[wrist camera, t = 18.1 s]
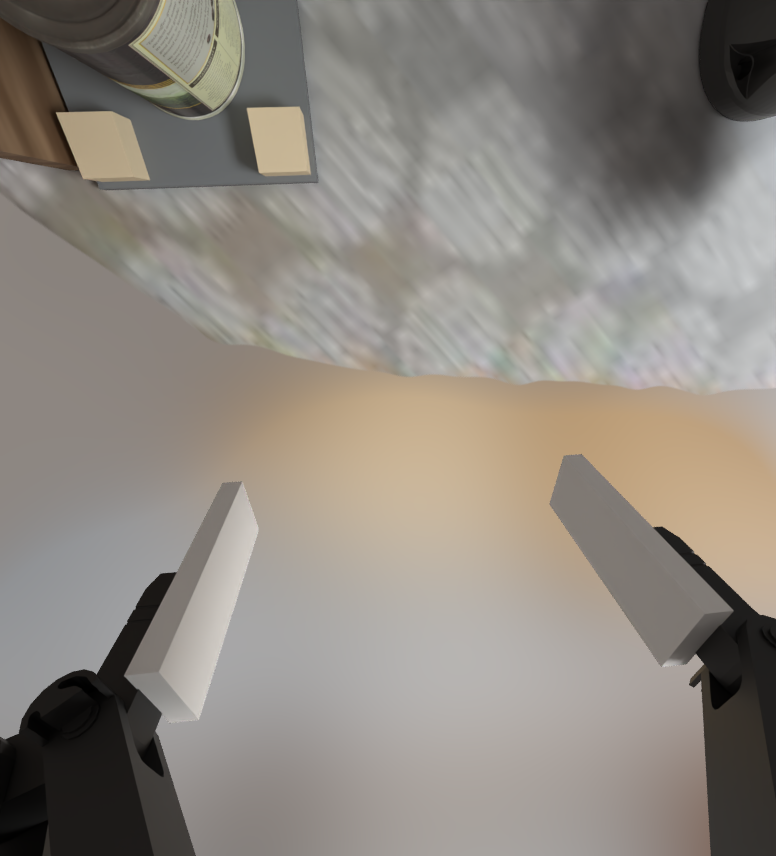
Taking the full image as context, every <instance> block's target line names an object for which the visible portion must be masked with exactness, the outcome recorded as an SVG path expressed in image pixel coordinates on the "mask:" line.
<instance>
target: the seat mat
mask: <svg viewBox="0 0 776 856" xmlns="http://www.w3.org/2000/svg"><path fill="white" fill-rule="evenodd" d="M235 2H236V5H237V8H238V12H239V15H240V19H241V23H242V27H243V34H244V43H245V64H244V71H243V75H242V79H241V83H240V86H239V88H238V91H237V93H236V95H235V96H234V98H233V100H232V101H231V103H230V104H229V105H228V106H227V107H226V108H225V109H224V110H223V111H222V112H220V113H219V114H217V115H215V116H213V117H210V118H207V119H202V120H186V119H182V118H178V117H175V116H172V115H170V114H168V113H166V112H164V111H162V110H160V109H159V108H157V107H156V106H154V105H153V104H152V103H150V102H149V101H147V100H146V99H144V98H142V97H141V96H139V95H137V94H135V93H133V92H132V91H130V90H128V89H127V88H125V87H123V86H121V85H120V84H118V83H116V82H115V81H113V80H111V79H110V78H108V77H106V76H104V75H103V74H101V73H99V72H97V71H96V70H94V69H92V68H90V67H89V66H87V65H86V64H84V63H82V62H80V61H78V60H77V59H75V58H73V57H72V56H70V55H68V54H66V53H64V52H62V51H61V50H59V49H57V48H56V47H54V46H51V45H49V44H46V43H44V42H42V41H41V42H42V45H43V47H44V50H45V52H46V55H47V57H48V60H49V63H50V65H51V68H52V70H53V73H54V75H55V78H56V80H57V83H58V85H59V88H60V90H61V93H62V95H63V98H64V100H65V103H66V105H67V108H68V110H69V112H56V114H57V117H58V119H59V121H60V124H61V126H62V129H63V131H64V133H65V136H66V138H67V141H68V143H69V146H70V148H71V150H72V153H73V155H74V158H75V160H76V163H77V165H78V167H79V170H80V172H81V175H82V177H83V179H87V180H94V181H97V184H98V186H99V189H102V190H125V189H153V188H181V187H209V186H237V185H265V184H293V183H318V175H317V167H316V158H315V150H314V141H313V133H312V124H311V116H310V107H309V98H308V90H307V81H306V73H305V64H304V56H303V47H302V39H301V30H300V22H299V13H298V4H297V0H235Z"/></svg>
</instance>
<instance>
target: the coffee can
mask: <svg viewBox="0 0 776 856" xmlns="http://www.w3.org/2000/svg"><path fill="white" fill-rule="evenodd" d="M0 17H1V18H2V19H4V20H5V21H6V22H8V23H9V24H11V25H12V26H14V27H15V28H17V29H19V30H21V31H22V32H24V33H26V34H28V35H30V36H31V37H33V38H35V39H37V40H39V41H42V42H44V43H46V44H49V45H51V46H54V47H56V48H57V49H59V50H61V51H62V52H64V53H66V54H68V55H70V56H72V57H73V58H75V59H77V60H78V61H80V62H82V63H84V64H86V65H87V66H89V67H90V68H92V69H94V70H96V71H97V72H99V73H101V74H103V75H104V76H106V77H108V78H110V79H111V80H113V81H115V82H116V83H118V84H120V85H121V86H123V87H125V88H127V89H128V90H130V91H132V92H133V93H135V94H137V95H139V96H141V97H142V98H144V99H146V100H147V101H149V102H150V103H152V104H153V105H154V106H156V107H157V108H159V109H160V110H162V111H164V112H166V113H168V114H170V115H172V116H175V117H178V118H182V119H186V120H202V119H207V118H210V117H213V116H215V115H217V114H219V113H220V112H222V111H223V110H224V109H225V108H226V107H227V106H228V105H229V104H230V103H231V101H232V100H233V98H234V96H235V95H236V93H237V91H238V88H239V86H240V83H241V79H242V75H243V71H244V64H245V43H244V34H243V27H242V23H241V19H240V15H239V12H238V8H237V5H236V2H235V0H0Z"/></svg>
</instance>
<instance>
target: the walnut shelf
mask: <svg viewBox="0 0 776 856" xmlns="http://www.w3.org/2000/svg"><path fill="white" fill-rule="evenodd" d="M56 112H69V110H68V108H67V105H66V103H65V100H64V98H63V95H62V93H61V90H60V88H59V85H58V83H57V80H56V78H55V75H54V73H53V70H52V68H51V65H50V63H49V60H48V57H47V55H46V52H45V50H44V47H43V45H42V42H41V41H39V40H37V39H35V38H33V37H31V36H30V35H28V34H26V33H24V32H22V31H21V30H19V29H17V28H15V27H14V26H12V25H11V24H9V23H8V22H6V21H5V20H4V19H2V18H1V17H0V158H4V159H10V160H15V161H21V162H26V163H32V164H37V165H43V166H48V167H54V168H59V169H65V170H79V167H78V165H77V163H76V160H75V158H74V155H73V153H72V150H71V148H70V146H69V143H68V141H67V138H66V136H65V133H64V131H63V129H62V126H61V124H60V121H59V119H58V117H57V114H56Z"/></svg>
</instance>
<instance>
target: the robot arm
mask: <svg viewBox="0 0 776 856" xmlns="http://www.w3.org/2000/svg"><path fill="white" fill-rule="evenodd" d="M700 72H701V78H702V83H703V86H704V89H705V92H706V94H707V97H708V99H709V100H710V102H711V103H712V105H713V106H714V107H715V108H716V109H717V110H718V111H719V112H720V113H721V114H723V115H724V116H726V117H728V118H730V119H733V120H737V121H756V120H761V119H765V118H769V117H773V116H776V0H709V1H708V5H707V9H706V12H705V17H704V21H703V27H702V32H701V40H700ZM550 506H551V507H552V509H553V510H554V511H555V513H556V514H557V516H558V517H559V519H560V520H561V522H562V523H563V525H564V526H565V528H566V529H567V530H568V532H569V533H570V535H571V536H572V538H573V539H574V541H575V542H576V544H577V545H578V546H579V548H580V549H581V551H582V552H583V554H584V555H585V557H586V558H587V560H588V561H589V562H590V564H591V565H592V567H593V568H594V570H595V571H596V573H597V574H598V576H599V577H600V579H601V580H602V581H603V583H604V584H605V586H606V587H607V588H608V590H609V592H610V593H611V595H612V596H613V597H614V599H615V600H616V602H617V603H618V605H619V606H620V608H621V609H622V611H623V612H624V613H625V615H626V616H627V618H628V619H629V621H630V622H631V624H632V625H633V627H634V628H635V629H636V631H637V632H638V634H639V635H640V637H641V638H642V640H643V641H644V643H645V644H646V646H647V647H648V648H649V650H650V651H651V653H652V654H653V656H654V657H655V659H656V660H657V662H658V663H659V664H660V666H661V667H667V666H675V665H684V664H687V663H688V662H689V661H690V660H691V658H692V657H693V656H694V655H695V654H697V655H698V657H699V658H700V659H701V661H702V662H703V663H704V665H703V666H702V667H701V668H700V669H699V670H698V671H697V672H696V674H695V675H694V676H693V677H692V678H691V680H690V683H689V685H690V686H692V687H695V686H696V685H697V684H698V683H699V682H700V681H701V682H702V683H701V684H702V690H701V691H702V703H703V720H704V738H705V756H706V774H707V775H706V776H707V794H708V812H709V830H710V847H711V856H776V619H775V618H771V617H768V616H764V615H759V614H758V613H757V612H756V611H755V610H753V609H752V608H751V607H750V606H749V605H748V604H747V603H746V602H745V601H744V600H743V599H742V598H741V597H740V596H739V595H738V594H737V593H736V592H735V591H734V590H733V589H732V588H731V587H730V586H728V584H727V583H725V581H724V580H722V579H721V578H720V577H719V576H718V575H717V574H716V573H715V572H714V571H713V570H712V569H711V568H710V567H709V566H706V563H705V562H704V561H703V560H702V559H701V558H700V557H699V556H698V555H695V554H694V551H693V550H692V549H690V547H688V545H686V543H684V542H683V540H681V539H680V538H679V537H678V536H676V535H674V534H673V533H671V532H669V531H668V530H667V529H665V528H663V527H652V526H651V525H650V524H649V523H648V522H647V521H646V520H645V519H644V518H643V517H642V516H641V515H640V514H639V513H638V512H637V511H636V510H635V509H634V508H633V507H632V506H631V505H630V504H629V502H628V501H627V500H626V499H625V498H624V497H623V496H622V495H621V494H620V493H619V492H618V491H617V490H616V489H615V488H614V487H613V486H612V485H611V484H610V483H609V482H608V481H607V480H606V479H605V478H604V477H603V476H602V475H601V474H600V473H599V472H598V471H597V470H596V469H595V468H594V467H593V465H592V464H591V463H590V462H589V461H588V460H587V459H586V458H585V457H584V456H583V455H582V454H579V455H566V456H564V457H563V460H562V464H561V467H560V470H559V474H558V477H557V481H556V484H555V487H554V491H553V494H552V498H551V501H550ZM258 531H259V529H258V526H257V523H256V520H255V517H254V514H253V511H252V508H251V505H250V503H249V500H248V497H247V494H246V491H245V488H244V485H243V482H242V481H241V482H229V483H222V485H221V487H220V489H219V491H218V493H217V495H216V497H215V499H214V501H213V503H212V505H211V507H210V509H209V510H208V512H207V514H206V516H205V518H204V520H203V522H202V524H201V526H200V528H199V530H198V532H197V534H196V536H195V538H194V540H193V542H192V544H191V546H190V548H189V550H188V552H187V554H186V556H185V558H184V560H183V561H182V563H181V565H180V567H179V569H178V571H177V572H174V573H163V574H160V575H159V576H158V577H157V578H156V579H155V580H154V581H153V582H152V583H151V584H150V585H149V586H148V587H147V588H146V590H145V591H144V593H143V595H142V596H141V598H140V600H139V602H138V603H137V605H136V609H135V610H133V612H132V614H131V616H130V617H129V619H128V621H127V622H128V623H127V625H125V626H124V628H123V629H122V631H121V633H120V635H119V637H118V638H117V640H116V642H115V643H114V645H113V647H112V649H111V650H110V652H109V654H108V656H107V657H106V659H105V661H104V663H103V665H102V666H101V668H100V670H99V671H98V673H97V675H96V674H95V673H94V672H92V671H88V670H79V671H74V672H71V673H69V674H67V675H65V676H63V677H61V678H59V679H57V680H56V681H55V682H54V683H52V684H51V685H50V686H48V687H47V688H46V689H45V690H43V691H42V692H41V694H40V695H39V696H38V697H37V698H36V699H35V700H34V701H33V703H32V704H31V705H30V706H29V708H28V710H27V712H26V713H25V715H24V717H23V718H22V721H21V725H20V730H19V734H17V735H14V736H12V737H10V738H8V739H3V738H1V737H0V856H196V855H195V852H194V849H193V846H192V843H191V839H190V836H189V833H188V830H187V826H186V823H185V820H184V817H183V814H182V810H181V807H180V804H179V801H178V797H177V794H176V791H175V788H174V785H173V781H172V778H171V775H170V772H169V769H168V765H167V762H166V759H165V756H164V753H163V749H162V746H161V743H160V740H159V736H158V735H157V734H156V732H155V730H156V727H157V725H158V722H159V720H160V717H161V715H162V716H163V717H164V718H165V719H166V720H167V721H168V722H169V723H176V722H185V721H193V720H199V717H200V714H201V711H202V708H203V705H204V702H205V699H206V695H207V692H208V689H209V686H210V682H211V680H212V676H213V673H214V670H215V667H216V664H217V661H218V657H219V654H220V651H221V648H222V645H223V642H224V638H225V635H226V632H227V629H228V626H229V623H230V619H231V616H232V613H233V610H234V607H235V604H236V600H237V597H238V594H239V591H240V588H241V584H242V581H243V578H244V575H245V572H246V569H247V566H248V562H249V559H250V556H251V553H252V549H253V546H254V543H255V540H256V537H257V534H258Z"/></svg>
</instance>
